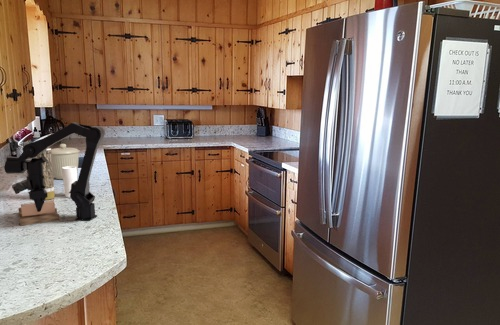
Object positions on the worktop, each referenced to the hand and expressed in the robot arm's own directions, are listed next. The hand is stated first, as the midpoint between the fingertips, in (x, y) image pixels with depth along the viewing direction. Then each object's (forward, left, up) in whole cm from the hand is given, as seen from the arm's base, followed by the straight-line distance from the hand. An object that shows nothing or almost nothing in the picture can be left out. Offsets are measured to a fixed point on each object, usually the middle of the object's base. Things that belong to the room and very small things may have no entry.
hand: (38, 210), depth 159 cm
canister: (+36, -73, -4) cm, 82 cm away
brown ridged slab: (+3, -3, -4) cm, 6 cm away
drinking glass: (+8, -35, -4) cm, 36 cm away
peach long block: (0, 0, -1) cm, 1 cm away
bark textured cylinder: (+17, -29, -4) cm, 34 cm away
